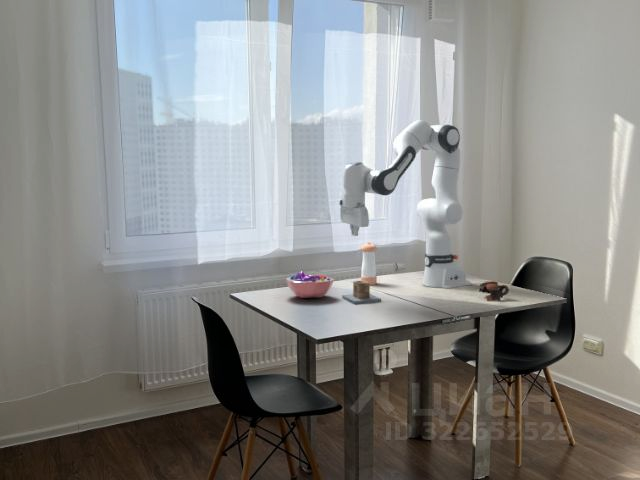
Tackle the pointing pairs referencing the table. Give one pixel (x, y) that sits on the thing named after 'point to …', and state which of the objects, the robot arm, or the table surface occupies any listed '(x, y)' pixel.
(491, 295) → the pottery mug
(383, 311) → the table surface
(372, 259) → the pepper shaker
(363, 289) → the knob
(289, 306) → the table surface
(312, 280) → the cell model
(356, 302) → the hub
